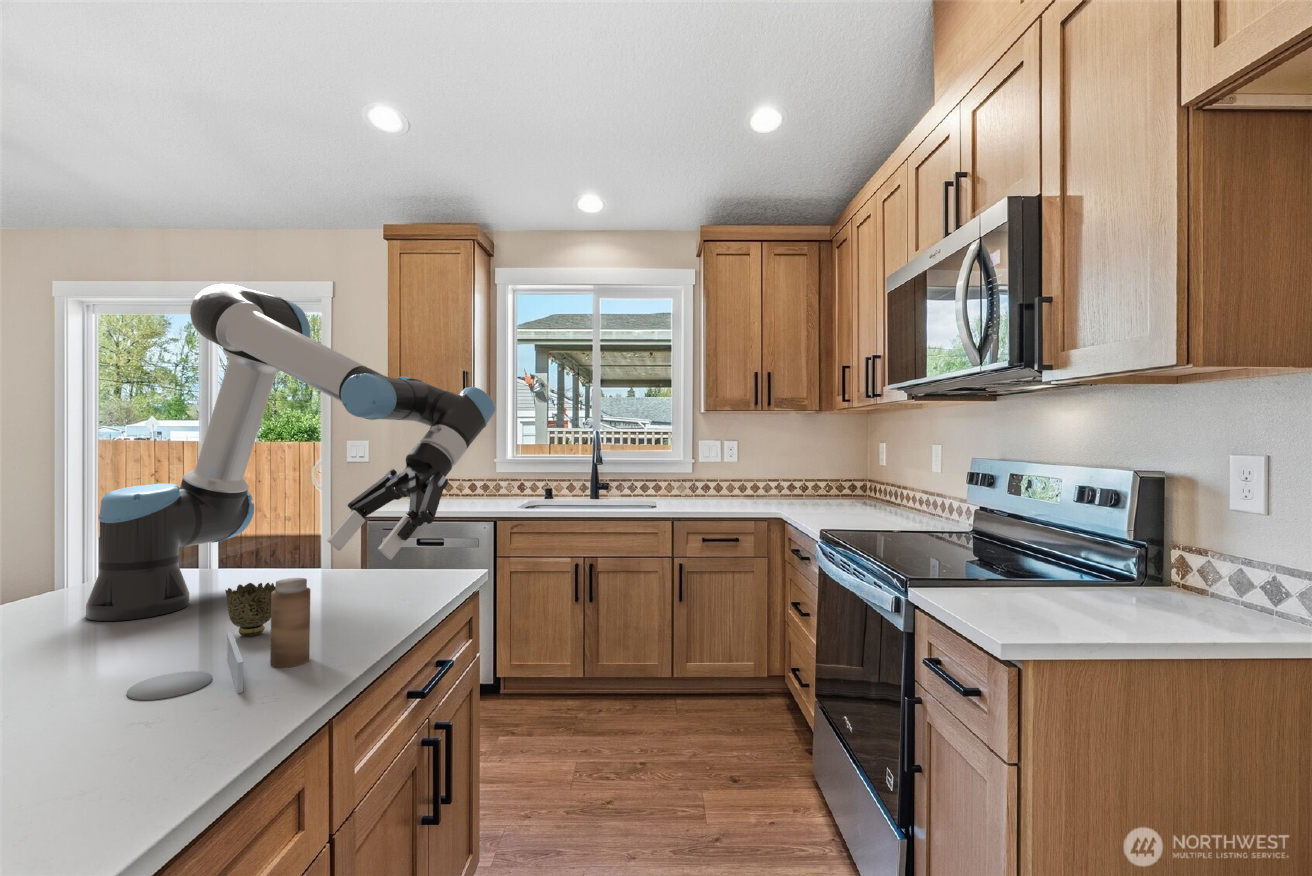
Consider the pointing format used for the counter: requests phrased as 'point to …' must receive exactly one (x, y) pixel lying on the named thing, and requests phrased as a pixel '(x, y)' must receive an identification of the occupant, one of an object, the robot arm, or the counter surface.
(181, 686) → the coaster
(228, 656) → the acrylic wall
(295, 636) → the pepper mill
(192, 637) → the counter surface
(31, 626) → the counter surface
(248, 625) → the cup
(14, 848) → the counter surface
